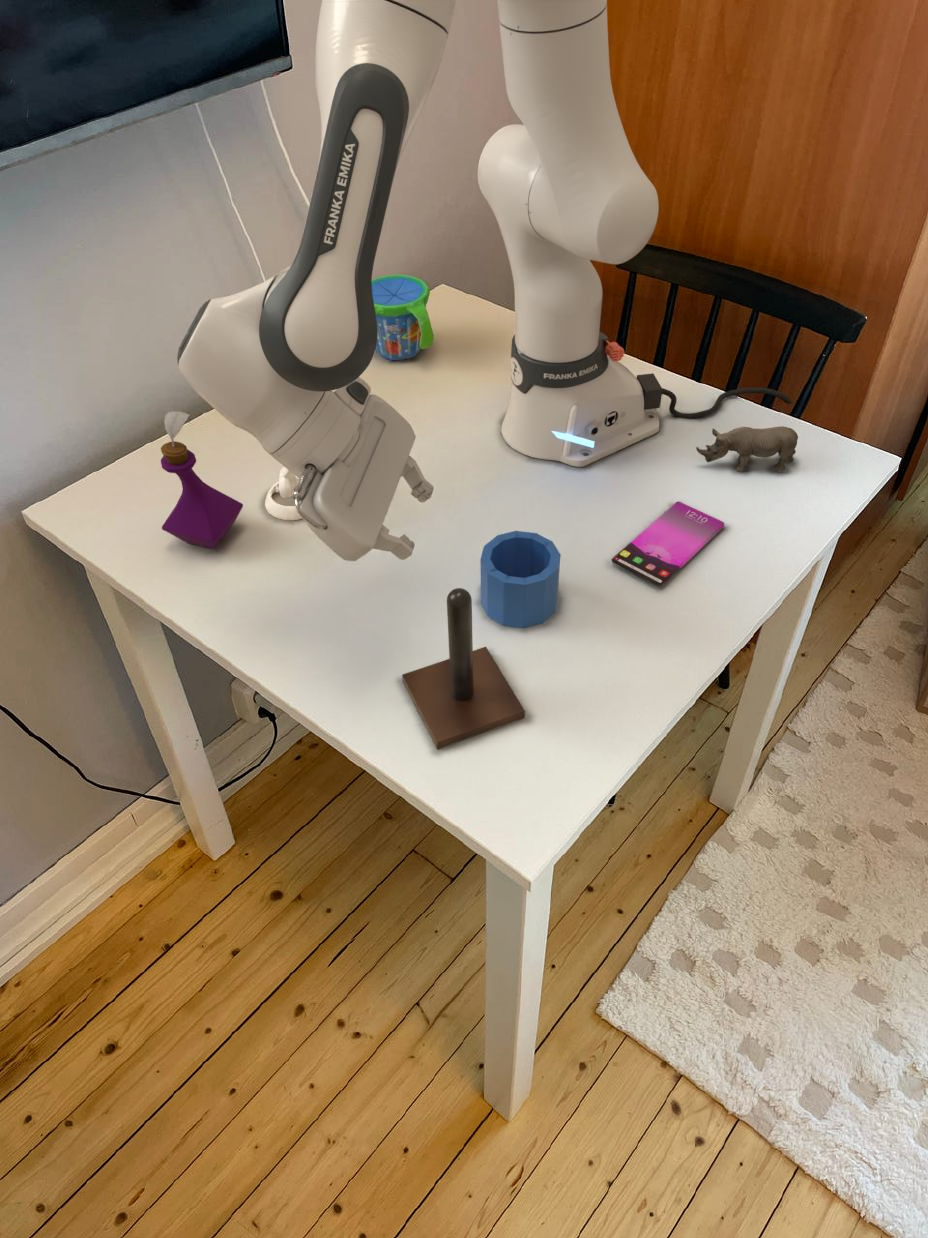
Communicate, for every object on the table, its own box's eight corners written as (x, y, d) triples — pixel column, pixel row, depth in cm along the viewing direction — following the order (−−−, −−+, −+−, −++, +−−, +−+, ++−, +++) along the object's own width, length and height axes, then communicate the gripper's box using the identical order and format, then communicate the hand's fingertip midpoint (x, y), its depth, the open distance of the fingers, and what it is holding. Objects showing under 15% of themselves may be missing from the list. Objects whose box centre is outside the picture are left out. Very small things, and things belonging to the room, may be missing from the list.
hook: (352, 488, 120) (302, 471, 116) (308, 539, 128) (259, 525, 124) (350, 443, 124) (301, 425, 120) (307, 496, 132) (260, 480, 128)
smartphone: (609, 564, 117) (610, 558, 116) (676, 503, 125) (677, 498, 124) (660, 590, 114) (660, 585, 113) (725, 526, 121) (726, 521, 121)
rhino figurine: (690, 455, 132) (696, 418, 128) (790, 455, 132) (801, 418, 127) (694, 474, 129) (701, 437, 125) (797, 473, 129) (808, 436, 124)
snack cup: (345, 339, 155) (338, 279, 148) (401, 320, 159) (396, 261, 152) (396, 382, 146) (391, 320, 139) (453, 360, 150) (451, 299, 143)
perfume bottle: (219, 561, 119) (185, 441, 106) (167, 548, 121) (128, 428, 108) (248, 523, 124) (220, 404, 111) (198, 511, 126) (164, 393, 113)
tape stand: (485, 653, 107) (485, 545, 96) (524, 717, 101) (529, 610, 89) (402, 681, 105) (391, 573, 93) (437, 749, 98) (429, 642, 87)
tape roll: (488, 571, 117) (488, 527, 112) (560, 579, 115) (563, 535, 110) (475, 622, 111) (475, 578, 106) (551, 632, 109) (554, 588, 104)
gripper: (306, 487, 88) (417, 577, 93) (364, 367, 101) (457, 452, 107) (268, 519, 91) (376, 604, 97) (329, 400, 105) (420, 480, 111)
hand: (419, 523), depth 102 cm, fingers open, 8 cm apart
